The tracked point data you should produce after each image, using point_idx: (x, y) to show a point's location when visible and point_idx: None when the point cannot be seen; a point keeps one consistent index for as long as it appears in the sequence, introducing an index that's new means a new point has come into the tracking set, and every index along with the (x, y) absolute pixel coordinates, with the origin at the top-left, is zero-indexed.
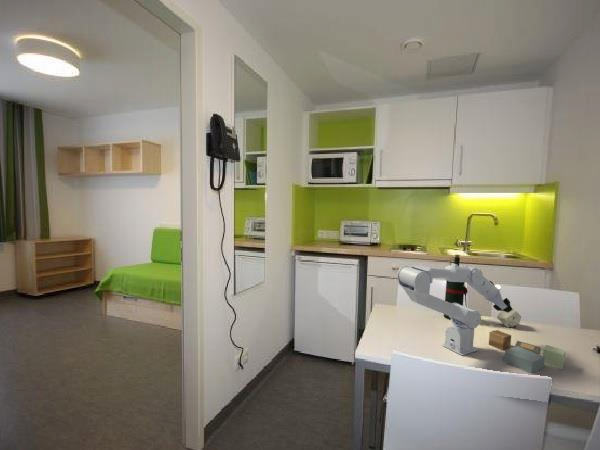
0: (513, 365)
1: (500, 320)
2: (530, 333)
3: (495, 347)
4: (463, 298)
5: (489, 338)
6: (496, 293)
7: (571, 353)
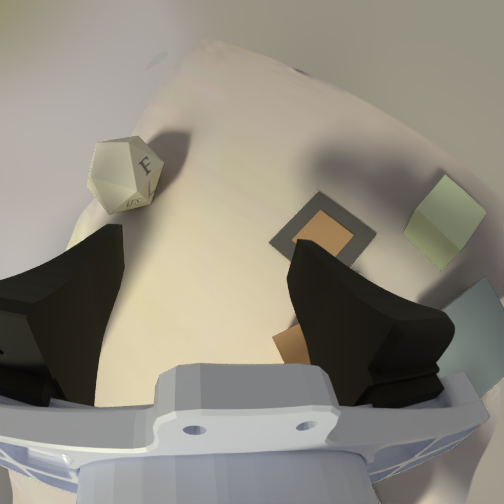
0: None
1: (123, 209)
2: (203, 156)
3: None
4: None
5: None
6: (372, 488)
7: (344, 129)
